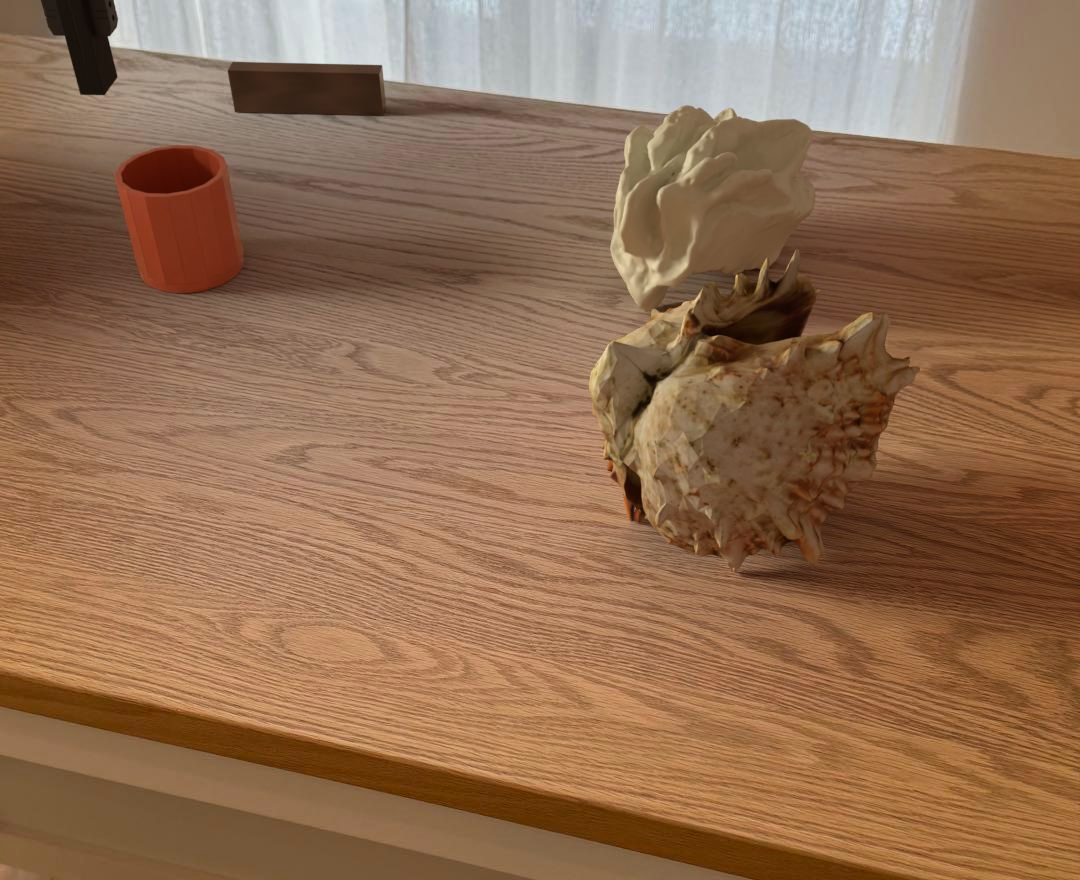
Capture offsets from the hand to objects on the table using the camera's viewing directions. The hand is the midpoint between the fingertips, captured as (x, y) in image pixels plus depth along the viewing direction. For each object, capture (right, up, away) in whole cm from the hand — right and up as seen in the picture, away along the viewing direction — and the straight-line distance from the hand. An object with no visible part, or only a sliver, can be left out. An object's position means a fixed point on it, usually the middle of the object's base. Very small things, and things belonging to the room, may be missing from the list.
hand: (99, 85), depth 78 cm
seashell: (+39, -27, -2) cm, 48 cm away
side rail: (+6, +12, +39) cm, 41 cm away
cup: (0, -7, +19) cm, 20 cm away
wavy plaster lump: (+39, -7, +19) cm, 44 cm away
